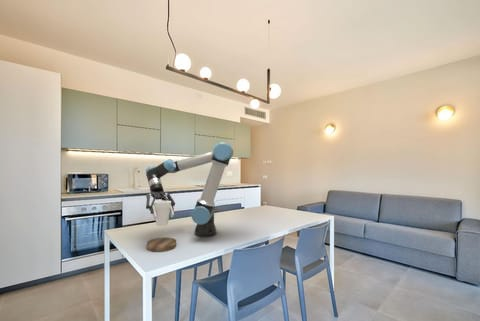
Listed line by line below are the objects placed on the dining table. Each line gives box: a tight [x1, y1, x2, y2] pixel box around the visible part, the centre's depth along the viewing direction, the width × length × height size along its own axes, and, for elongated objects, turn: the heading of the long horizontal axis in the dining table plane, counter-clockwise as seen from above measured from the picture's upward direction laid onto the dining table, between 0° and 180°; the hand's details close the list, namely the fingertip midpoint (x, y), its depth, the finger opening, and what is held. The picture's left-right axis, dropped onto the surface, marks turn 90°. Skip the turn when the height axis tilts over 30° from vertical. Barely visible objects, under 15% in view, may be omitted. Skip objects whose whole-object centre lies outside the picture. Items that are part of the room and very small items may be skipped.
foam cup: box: [153, 200, 171, 226], centre depth 130 cm, size 10×9×13 cm
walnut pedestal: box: [146, 236, 177, 253], centre depth 129 cm, size 16×16×3 cm
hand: (164, 216), depth 128 cm, fingers closed on foam cup, 9 cm apart
